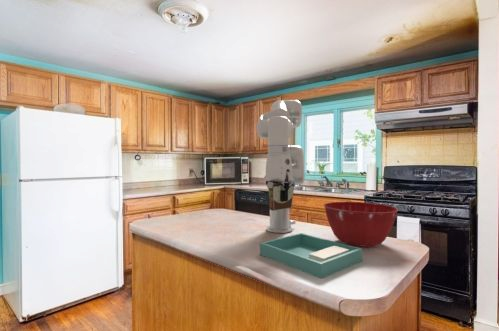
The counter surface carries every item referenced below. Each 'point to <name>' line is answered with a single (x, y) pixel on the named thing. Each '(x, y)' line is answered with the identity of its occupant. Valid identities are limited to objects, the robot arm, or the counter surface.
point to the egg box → (327, 253)
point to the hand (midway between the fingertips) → (278, 199)
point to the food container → (275, 196)
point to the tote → (299, 248)
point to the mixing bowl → (360, 222)
